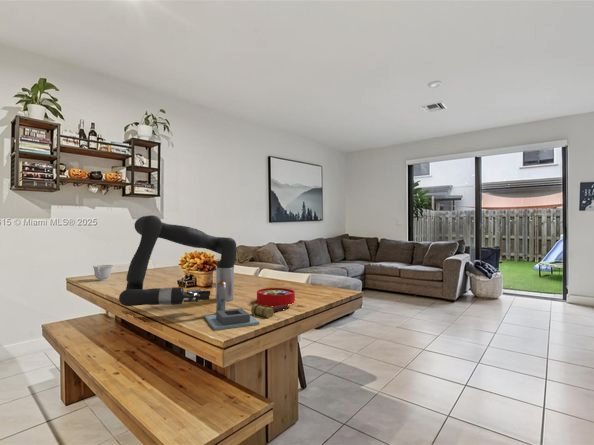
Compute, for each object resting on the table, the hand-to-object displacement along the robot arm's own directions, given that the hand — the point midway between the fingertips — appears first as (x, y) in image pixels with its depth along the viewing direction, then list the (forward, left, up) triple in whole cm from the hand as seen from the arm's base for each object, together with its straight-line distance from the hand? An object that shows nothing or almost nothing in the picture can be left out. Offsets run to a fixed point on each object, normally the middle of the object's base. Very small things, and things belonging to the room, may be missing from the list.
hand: (209, 295), depth 144 cm
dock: (+14, +6, -9) cm, 18 cm away
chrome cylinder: (+1, +5, -9) cm, 10 cm away
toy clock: (-10, +37, -9) cm, 39 cm away
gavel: (+8, +28, -9) cm, 31 cm away
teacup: (-115, -48, -9) cm, 125 cm away
